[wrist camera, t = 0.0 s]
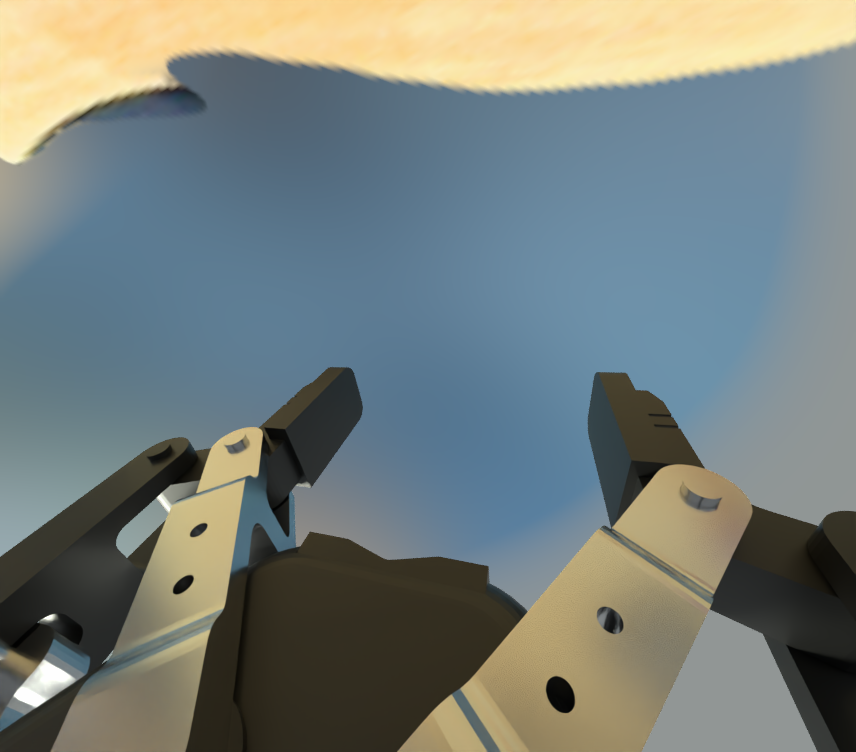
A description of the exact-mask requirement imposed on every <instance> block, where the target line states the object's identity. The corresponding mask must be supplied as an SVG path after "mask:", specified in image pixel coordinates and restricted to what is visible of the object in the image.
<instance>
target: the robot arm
mask: <svg viewBox="0 0 856 752" xmlns="http://www.w3.org/2000/svg"><path fill="white" fill-rule="evenodd" d="M362 409H363V406H362V401H361V397H360V393H359V390H358V386H357V383H356V379H355V376H354V373H353V371H352V369H351V368H347V367H346V368H345V367H341V368H340V367H330V368H328V369H327V370H325V371H324V372H323V373H322V374H321V375H320V376H319V377H318V378H317V379H316V380H315V381H314V382H312V383H310V384H309V385H307V386H305V387H303V388H302V389H301V390H300V391H299V392H298V393H297V394H296V395H295V397H293V398H291V399H290V400H289V401H288V402H287V405H284V406H282V408H280V409H279V410H278V411H277V412H276V413H275V414H274V415H273V416H271V418H269V419H268V420H267V421H266V422H265V423H264V424H263V425H262V426H260V427H259V428H256V427H248V428H243V429H239V430H236V431H234V432H232V433H230V434H228V435H226V436H224V437H223V438H221V439H220V440H219V441H217V442H216V443H215V444H214V445H213V447H212V448H210V449H204V450H198V451H195V450H194V448H193V447H192V445H191V443H190V442H189V440H188V439H186V438H182V437H181V438H180V437H179V438H173V439H169V440H166V441H163V442H160V443H158V444H156V445H154V446H152V447H150V448H149V449H147V450H145V451H144V452H142V453H141V454H140V455H138V456H137V457H136V458H134V459H133V460H132V461H130V462H129V463H128V464H126V465H125V466H124V467H122V468H121V469H119V470H118V471H117V472H115V473H114V474H112V475H111V476H110V477H108V478H107V479H106V480H104V481H103V482H102V483H100V484H99V485H98V486H96V487H95V488H94V489H92V490H91V491H89V492H88V493H87V494H85V495H84V496H83V497H81V498H80V499H78V500H77V501H76V502H75V503H73V504H72V505H70V506H69V507H68V508H66V509H65V510H63V511H62V512H61V513H60V514H58V515H57V516H55V517H54V518H53V519H51V520H50V521H48V522H47V523H46V524H44V525H43V526H42V527H41V528H39V529H38V530H36V531H35V532H33V533H32V534H31V535H29V536H28V537H27V538H25V539H24V540H23V541H22V542H20V543H19V544H17V545H16V546H15V547H13V548H12V549H10V550H9V551H8V552H6V553H5V554H4V555H2V556H1V557H0V752H641V751H642V749H643V747H644V745H645V743H646V741H647V739H648V737H649V735H650V733H651V731H652V728H653V726H654V724H655V722H656V720H657V718H658V716H659V714H660V712H661V710H662V708H663V705H664V703H665V701H666V699H667V697H668V695H669V693H670V691H671V689H672V687H673V684H674V682H675V680H676V678H677V676H678V674H679V672H680V670H681V668H682V666H683V663H684V661H685V659H686V657H687V655H688V653H689V651H690V649H691V647H692V644H693V642H694V640H695V638H696V636H697V634H698V632H699V630H700V628H701V625H702V624H703V622H704V620H705V617H706V615H707V613H708V611H709V609H710V610H713V611H715V612H717V613H719V614H721V615H724V616H726V617H728V618H730V619H732V620H734V621H736V622H739V623H741V624H743V625H745V626H747V627H749V628H752V629H754V630H756V631H758V632H761V633H763V635H764V637H765V640H766V642H767V644H768V646H769V648H770V650H771V652H772V654H773V657H774V659H775V661H776V663H777V665H778V667H779V669H780V672H781V674H782V676H783V678H784V680H785V682H786V685H787V687H788V689H789V691H790V693H791V695H792V698H793V700H794V702H795V704H796V706H797V708H798V710H799V713H800V715H801V717H802V719H803V721H804V723H805V726H806V728H807V730H808V732H809V734H810V736H811V738H812V741H813V743H814V745H815V747H816V749H817V751H818V752H856V512H854V511H838V512H833V513H831V514H828V515H827V516H826V517H825V518H824V519H823V520H822V522H821V523H820V524H819V526H816V525H813V524H810V523H807V522H803V521H800V520H797V519H793V518H790V517H787V516H784V515H780V514H777V513H773V512H771V511H767V510H765V509H762V508H759V507H756V506H754V505H751V503H750V501H749V499H748V498H747V496H746V495H745V494H744V493H743V491H742V490H741V489H739V488H738V487H737V486H736V485H735V484H733V483H732V482H730V481H729V480H727V479H725V478H724V477H722V476H720V475H718V474H716V473H714V472H712V471H709V470H707V469H705V468H704V466H703V465H702V463H701V461H700V460H699V459H698V457H697V455H696V453H695V452H694V450H693V449H692V447H691V445H690V444H689V442H688V441H687V439H686V437H685V436H684V434H683V433H682V431H681V429H678V425H677V423H676V422H675V420H674V418H672V417H671V413H670V412H669V410H668V409H667V407H666V405H665V404H664V402H663V401H661V400H660V399H659V398H657V397H656V396H654V395H653V394H652V393H650V392H649V391H641V390H635V388H634V386H633V384H632V382H631V380H630V379H629V377H628V375H627V374H626V373H609V372H608V373H607V372H597V373H596V374H595V376H594V381H593V388H592V394H591V401H590V407H589V414H588V434H589V439H590V442H591V447H592V451H593V455H594V459H595V463H596V467H597V471H598V475H599V480H600V484H601V488H602V492H603V495H604V500H605V504H606V508H607V512H608V517H609V521H610V525H611V529H609V528H608V527H606V526H602V527H601V528H600V529H598V530H597V531H596V532H595V533H594V534H593V535H592V537H591V538H590V539H589V540H588V541H587V542H586V544H585V545H584V546H583V547H582V549H581V550H580V551H579V552H578V553H577V554H576V555H575V557H574V558H573V559H572V560H571V562H570V563H569V564H568V565H567V566H566V567H565V568H564V570H563V571H562V572H561V573H560V574H559V576H558V577H557V578H556V579H555V581H554V582H553V583H552V584H551V585H550V586H549V587H548V589H547V590H546V591H545V592H544V593H543V594H542V596H541V597H540V598H539V599H538V600H537V602H536V603H535V604H534V605H533V606H532V607H531V609H530V610H529V611H527V610H526V609H525V608H524V607H523V606H522V605H520V604H519V603H518V602H517V601H516V600H515V599H513V598H512V597H511V596H510V595H508V594H507V593H505V592H504V591H502V590H501V589H499V588H497V587H495V586H493V585H492V584H490V583H489V568H488V566H484V565H478V564H474V563H469V562H464V561H458V560H453V559H448V558H443V557H427V558H413V559H400V560H386V559H383V558H381V557H380V556H378V555H376V554H374V553H372V552H371V551H369V550H367V549H365V548H363V547H361V546H360V545H358V544H356V543H354V542H353V541H351V540H349V539H345V538H340V537H334V536H330V535H324V534H319V533H314V532H309V534H308V536H307V537H306V539H305V540H304V542H303V544H302V545H301V546H300V547H296V535H295V501H294V495H293V493H292V491H291V490H292V489H293V488H294V486H295V485H296V486H303V487H310V488H311V487H312V486H313V484H314V483H315V482H316V480H317V479H318V477H319V476H320V475H321V473H322V472H323V470H324V469H325V468H326V466H327V465H328V463H329V462H330V461H331V459H332V457H333V456H334V455H335V453H336V452H337V451H338V449H339V448H340V446H341V445H342V444H343V442H344V441H345V439H346V438H347V437H348V435H349V434H350V432H351V431H352V429H353V428H354V427H355V425H356V424H357V422H358V421H359V420H360V418H361V415H362ZM154 499H157V500H158V501H159V503H160V504H161V505H162V506H163V508H164V509H165V510H166V511H167V512H168V516H167V519H166V520H165V521H164V522H163V523H162V524H161V525H160V526H159V527H158V528H157V529H156V530H155V531H154V532H153V533H152V534H151V535H150V536H149V537H148V538H147V539H146V540H145V541H144V542H143V543H142V544H141V545H140V546H139V547H138V548H137V549H136V550H135V551H134V552H133V553H132V554H131V555H130V556H129V557H128V558H126V557H125V556H124V555H123V554H122V553H121V552H120V551H119V550H118V549H117V546H116V539H117V536H118V534H119V532H120V531H121V530H122V528H123V527H124V526H125V525H126V524H128V523H129V522H130V521H131V520H132V519H133V518H134V517H135V516H136V515H138V513H140V512H141V511H142V510H143V509H144V508H145V507H147V506H148V505H149V504H150V503H151V502H152V501H153V500H154ZM38 621H39V623H37V622H38ZM112 651H113V653H112V655H111V656H110V658H109V660H108V661H106V662H104V663H103V661H104V660H105V659H106V658H107V657H108V656H109V654H110V653H111V652H112ZM102 663H103V664H102Z"/></svg>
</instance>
